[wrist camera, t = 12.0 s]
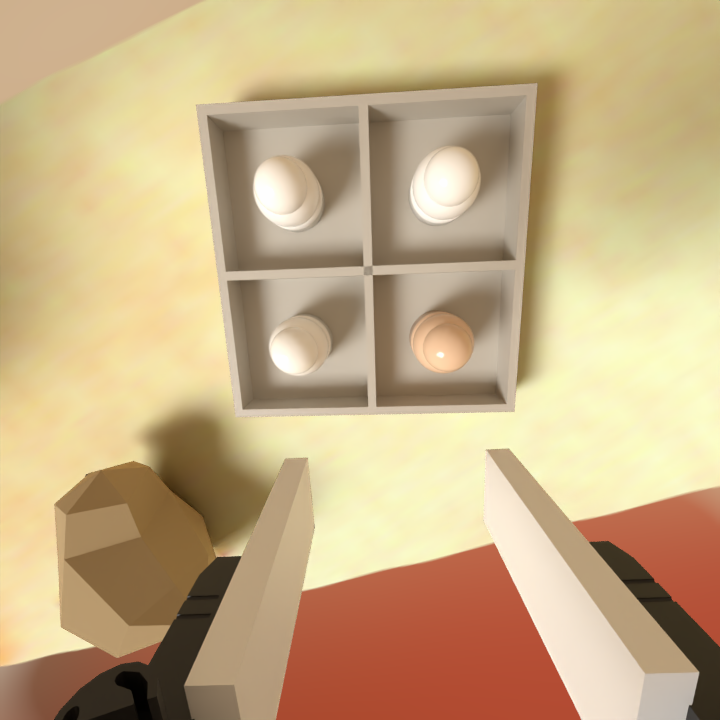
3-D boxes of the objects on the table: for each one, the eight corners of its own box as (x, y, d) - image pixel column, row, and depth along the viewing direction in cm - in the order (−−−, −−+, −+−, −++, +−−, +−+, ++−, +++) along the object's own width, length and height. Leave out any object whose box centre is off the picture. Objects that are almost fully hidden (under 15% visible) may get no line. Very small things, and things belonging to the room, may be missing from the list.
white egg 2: (282, 366, 27) (259, 388, 22) (278, 314, 27) (252, 323, 21) (334, 365, 27) (324, 386, 22) (331, 312, 26) (320, 321, 21)
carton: (249, 403, 29) (235, 417, 26) (217, 125, 24) (196, 104, 21) (499, 398, 28) (514, 411, 25) (516, 107, 23) (537, 83, 20)
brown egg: (409, 364, 27) (418, 385, 21) (409, 311, 26) (418, 319, 21) (462, 362, 27) (485, 384, 21) (464, 309, 26) (488, 317, 20)
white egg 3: (408, 227, 25) (418, 212, 19) (408, 164, 24) (418, 128, 18) (466, 224, 25) (493, 208, 19) (468, 160, 24) (498, 123, 18)
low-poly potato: (233, 582, 34) (272, 556, 26) (114, 707, 25) (121, 719, 18) (145, 467, 36) (158, 413, 29) (8, 547, 28) (-24, 501, 20)
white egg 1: (270, 233, 25) (240, 220, 20) (265, 171, 24) (232, 138, 19) (326, 231, 25) (312, 218, 19) (323, 169, 24) (308, 135, 18)
